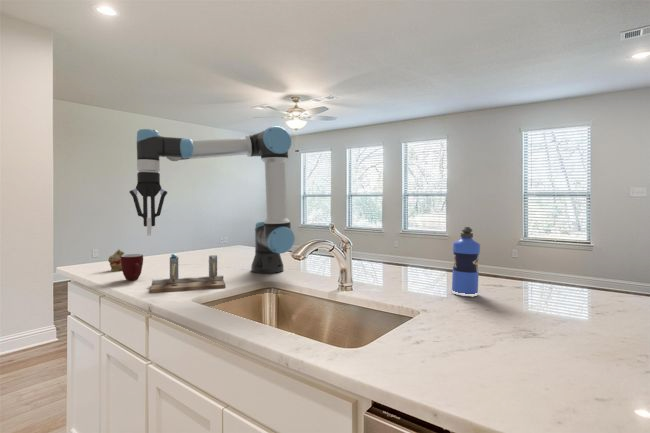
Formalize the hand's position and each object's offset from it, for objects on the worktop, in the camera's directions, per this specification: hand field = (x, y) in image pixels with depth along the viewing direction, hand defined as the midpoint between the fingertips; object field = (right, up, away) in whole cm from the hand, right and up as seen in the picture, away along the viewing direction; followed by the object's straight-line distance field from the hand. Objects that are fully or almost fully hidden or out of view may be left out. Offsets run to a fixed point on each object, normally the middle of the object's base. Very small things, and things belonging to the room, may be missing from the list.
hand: (149, 235), depth 136 cm
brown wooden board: (+14, -20, +3) cm, 24 cm away
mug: (-12, -19, +11) cm, 25 cm away
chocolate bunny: (-29, -18, +31) cm, 46 cm away
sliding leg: (+8, -17, +2) cm, 19 cm away
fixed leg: (+22, -17, +7) cm, 28 cm away
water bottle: (+118, -22, -1) cm, 120 cm away
